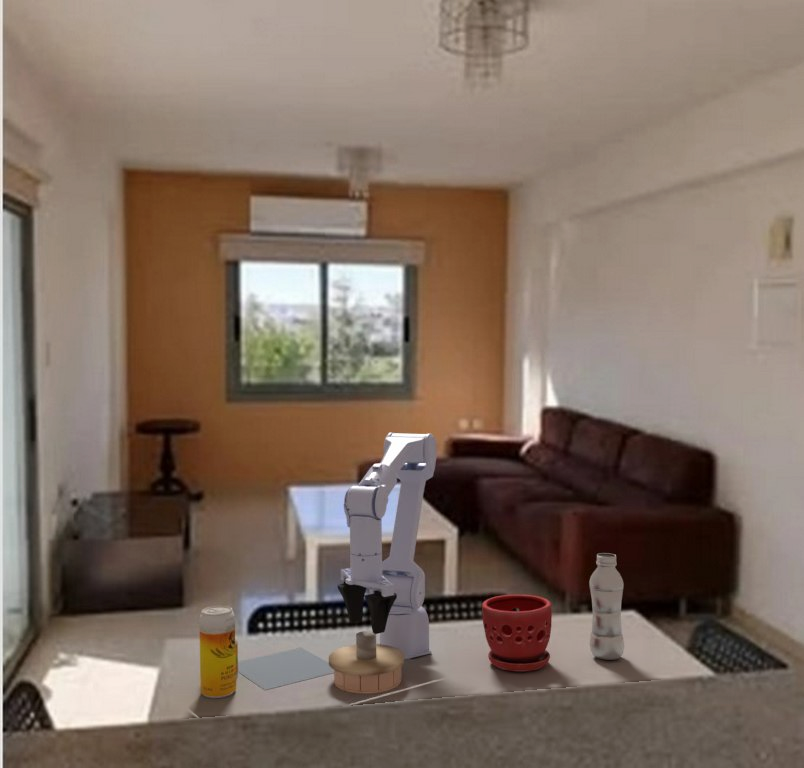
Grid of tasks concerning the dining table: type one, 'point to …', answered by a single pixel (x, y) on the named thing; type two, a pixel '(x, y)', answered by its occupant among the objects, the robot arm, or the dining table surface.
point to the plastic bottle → (606, 609)
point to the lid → (366, 657)
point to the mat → (283, 668)
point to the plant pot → (517, 631)
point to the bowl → (368, 682)
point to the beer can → (217, 651)
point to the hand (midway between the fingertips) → (367, 627)
